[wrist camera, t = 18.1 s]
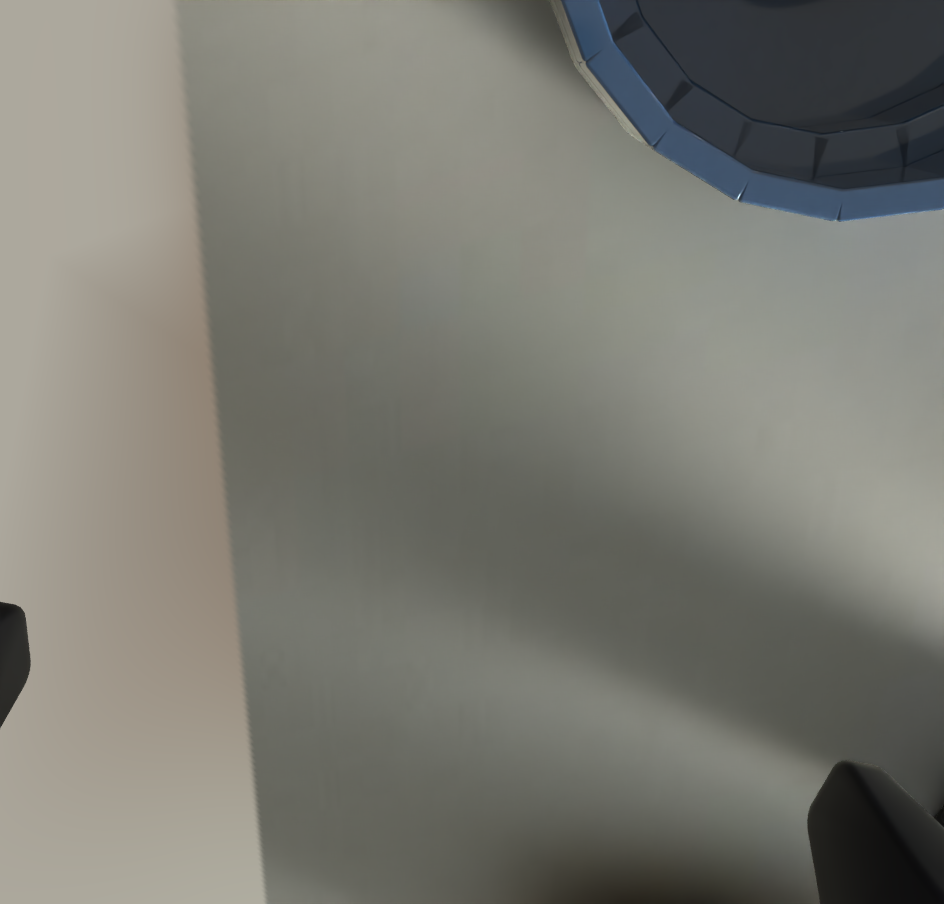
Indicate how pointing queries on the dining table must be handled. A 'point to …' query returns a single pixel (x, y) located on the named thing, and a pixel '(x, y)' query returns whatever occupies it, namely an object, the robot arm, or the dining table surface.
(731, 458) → the dining table surface
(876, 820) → the robot arm
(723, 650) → the dining table surface
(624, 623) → the dining table surface
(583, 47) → the bowl
